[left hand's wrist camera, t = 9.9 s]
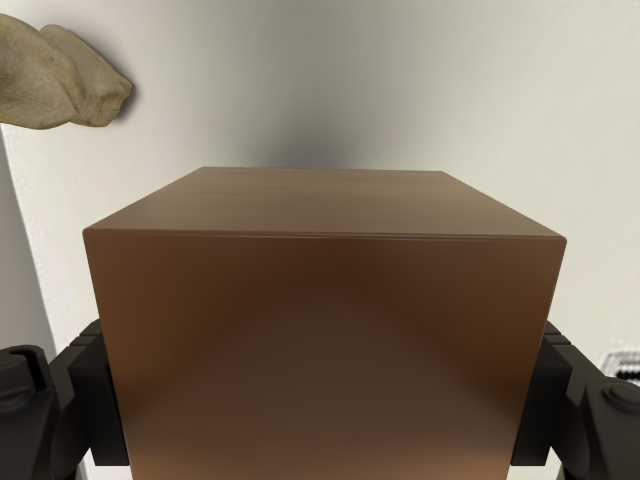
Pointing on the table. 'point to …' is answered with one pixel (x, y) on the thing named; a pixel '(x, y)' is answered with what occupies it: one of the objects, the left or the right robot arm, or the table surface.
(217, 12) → the table surface
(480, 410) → the brown wooden bar
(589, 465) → the left robot arm
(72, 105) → the sculpture
